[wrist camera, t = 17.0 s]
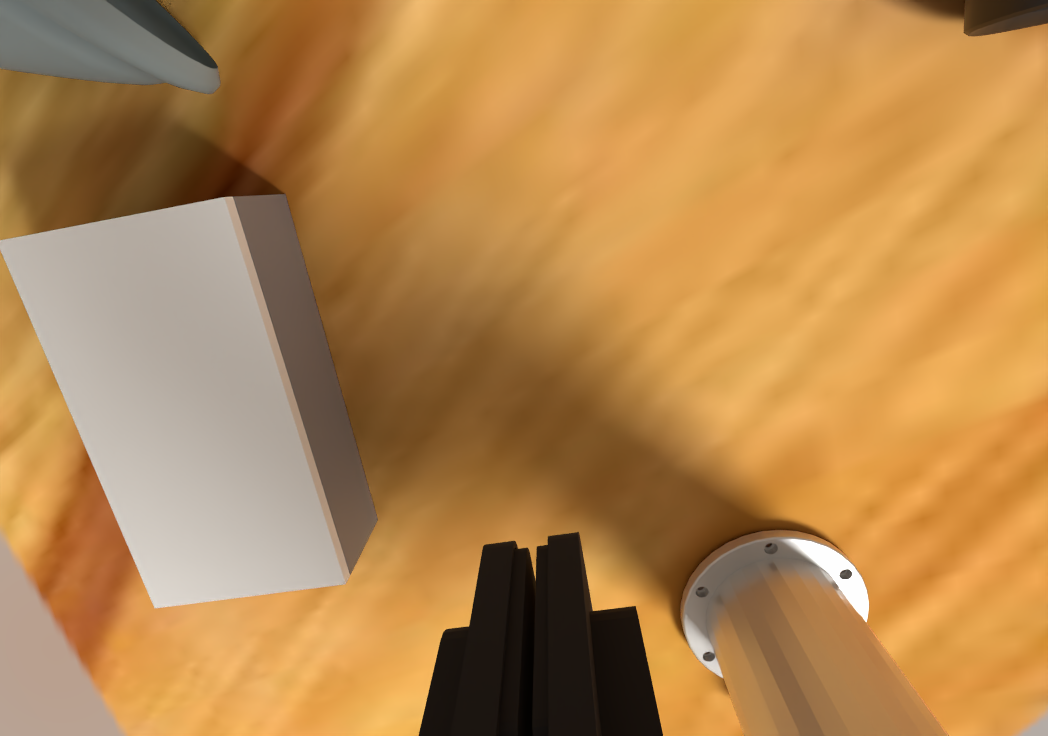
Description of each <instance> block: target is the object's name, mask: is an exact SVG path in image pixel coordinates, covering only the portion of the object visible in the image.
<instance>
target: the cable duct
mask: <svg viewBox="0 0 1048 736" xmlns="http://www.w3.org/2000/svg"><path fill="white" fill-rule="evenodd" d="M233 199H234V202H235V205H236V209H237V212H238V215H239V218H240V221H241V225H242V228H243V231H244V234H245V238H246V241H247V244H248V247H249V251H250V254H251V257H252V260H253V263H254V267H255V270H256V273H257V276H258V280H259V283H260V286H261V289H262V293H263V296H264V299H265V302H266V305H267V309H268V312H269V315H270V318H271V322H272V325H273V328H274V331H275V335H276V338H277V341H278V344H279V347H280V351H281V354H282V357H283V360H284V364H285V367H286V370H287V373H288V377H289V380H290V383H291V386H292V389H293V393H294V396H295V399H296V402H297V406H298V409H299V412H300V415H301V419H302V422H303V425H304V428H305V431H306V435H307V438H308V441H309V444H310V448H311V451H312V454H313V457H314V461H315V464H316V467H317V470H318V473H319V477H320V480H321V483H322V486H323V490H324V493H325V496H326V499H327V503H328V506H329V509H330V512H331V515H332V519H333V522H334V525H335V528H336V532H337V535H338V538H339V541H340V545H341V548H342V551H343V554H344V557H345V561H346V564H347V567H348V570H349V574H351V573H352V571H353V569H354V567H355V565H356V563H357V561H358V559H359V557H360V555H361V553H362V551H363V549H364V547H365V545H366V543H367V541H368V539H369V537H370V535H371V533H372V530H373V528H374V526H375V524H376V522H377V520H378V519H377V515H376V512H375V508H374V505H373V501H372V497H371V494H370V490H369V487H368V483H367V480H366V476H365V473H364V469H363V466H362V462H361V459H360V455H359V452H358V448H357V445H356V441H355V438H354V434H353V431H352V427H351V424H350V420H349V417H348V413H347V410H346V406H345V402H344V399H343V395H342V392H341V388H340V385H339V381H338V378H337V374H336V371H335V367H334V364H333V360H332V357H331V353H330V350H329V346H328V343H327V339H326V336H325V332H324V329H323V325H322V322H321V318H320V315H319V311H318V308H317V304H316V300H315V297H314V293H313V290H312V286H311V283H310V279H309V276H308V272H307V269H306V265H305V262H304V258H303V255H302V251H301V248H300V244H299V241H298V237H297V234H296V230H295V227H294V223H293V220H292V216H291V213H290V209H289V205H288V202H287V198H286V195H285V194H277V195H257V196H236V197H233Z"/></svg>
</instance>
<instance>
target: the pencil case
mask: <svg viewBox="0 0 1048 736" xmlns="http://www.w3.org/2000/svg"><path fill="white" fill-rule="evenodd" d="M0 69H6V70H12V71H19V72H26V73H33V74H41V75H48V76H55V77H63V78H71V79H80V80H89V81H98V82H108V83H121V84H136V85H153V84H161V83H169V84H171V85H174V86H176V87H179V88H183V89H187V90H192V91H196V92H201V93H205V94H213V93H214V92H215V91H216V90H217V89H218V88H219V86H220V83H221V82H220V77H219V72H218V66H217V65H216V63H215V61H214V60H213V59H212V58H211V56H210V55H209V54H208V53H207V52H206V51H205V50H204V49H203V47H202V46H201V45H200V44H199V43H198V42H197V41H196V40H195V39H194V38H193V37H192V36H191V35H190V34H189V33H188V32H187V31H186V30H185V29H184V28H183V27H182V26H181V25H180V24H179V23H178V22H177V21H176V20H175V19H174V18H173V17H172V16H171V15H170V14H169V13H168V12H167V11H166V10H165V9H164V8H163V7H162V6H161V5H160V4H159V3H158V2H157V1H156V0H0Z"/></svg>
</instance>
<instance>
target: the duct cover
mask: <svg viewBox="0 0 1048 736" xmlns="http://www.w3.org/2000/svg"><path fill="white" fill-rule="evenodd" d="M0 250H1V253H2V255H3V257H4V260H5V262H6V264H7V267H8V269H9V271H10V274H11V276H12V278H13V281H14V283H15V285H16V287H17V290H18V292H19V294H20V297H21V299H22V301H23V304H24V306H25V308H26V311H27V313H28V315H29V318H30V320H31V322H32V325H33V327H34V329H35V332H36V334H37V336H38V339H39V341H40V343H41V345H42V348H43V350H44V352H45V355H46V357H47V359H48V362H49V364H50V366H51V369H52V371H53V373H54V376H55V378H56V380H57V383H58V385H59V387H60V390H61V392H62V394H63V397H64V399H65V401H66V403H67V406H68V408H69V410H70V413H71V415H72V417H73V420H74V422H75V424H76V427H77V429H78V431H79V434H80V436H81V438H82V441H83V443H84V445H85V448H86V450H87V452H88V455H89V457H90V459H91V461H92V464H93V466H94V468H95V471H96V473H97V475H98V478H99V480H100V482H101V485H102V487H103V489H104V492H105V494H106V496H107V499H108V501H109V503H110V506H111V508H112V510H113V513H114V515H115V517H116V519H117V522H118V524H119V526H120V529H121V531H122V533H123V536H124V538H125V540H126V543H127V545H128V547H129V550H130V552H131V554H132V557H133V559H134V561H135V564H136V566H137V568H138V571H139V573H140V575H141V577H142V580H143V582H144V584H145V587H146V589H147V591H148V594H149V596H150V598H151V601H152V603H153V605H154V608H162V607H169V606H177V605H185V604H193V603H201V602H209V601H217V600H225V599H233V598H241V597H248V596H256V595H264V594H272V593H280V592H288V591H296V590H304V589H312V588H320V587H327V586H335V585H343V584H346V583H347V581H348V579H349V577H350V574H349V570H348V567H347V564H346V561H345V557H344V554H343V551H342V548H341V545H340V541H339V538H338V535H337V532H336V528H335V525H334V522H333V519H332V515H331V512H330V509H329V506H328V503H327V499H326V496H325V493H324V490H323V486H322V483H321V480H320V477H319V473H318V470H317V467H316V464H315V461H314V457H313V454H312V451H311V448H310V444H309V441H308V438H307V435H306V431H305V428H304V425H303V422H302V419H301V415H300V412H299V409H298V406H297V402H296V399H295V396H294V393H293V389H292V386H291V383H290V380H289V377H288V373H287V370H286V367H285V364H284V360H283V357H282V354H281V351H280V347H279V344H278V341H277V338H276V335H275V331H274V328H273V325H272V322H271V318H270V315H269V312H268V309H267V305H266V302H265V299H264V296H263V293H262V289H261V286H260V283H259V280H258V276H257V273H256V270H255V267H254V263H253V260H252V257H251V254H250V251H249V247H248V244H247V241H246V238H245V234H244V231H243V228H242V225H241V221H240V218H239V215H238V212H237V209H236V205H235V202H234V199H233V197H222V198H217V199H212V200H207V201H201V202H196V203H191V204H186V205H181V206H176V207H170V208H165V209H160V210H155V211H150V212H145V213H139V214H134V215H129V216H124V217H119V218H114V219H108V220H103V221H98V222H93V223H88V224H83V225H77V226H72V227H67V228H62V229H57V230H52V231H46V232H41V233H36V234H31V235H26V236H21V237H15V238H10V239H5V240H0Z"/></svg>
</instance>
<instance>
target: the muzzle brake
mask: <svg viewBox="0 0 1048 736" xmlns="http://www.w3.org/2000/svg"><path fill="white" fill-rule="evenodd" d="M1046 23H1048V0H965V14H964V33H965V34H966V35H968V36H981V35H989V34H995V33H1001V32H1006V31H1011V30H1017V29H1022V28H1027V27H1032V26H1037V25H1042V24H1046Z"/></svg>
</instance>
